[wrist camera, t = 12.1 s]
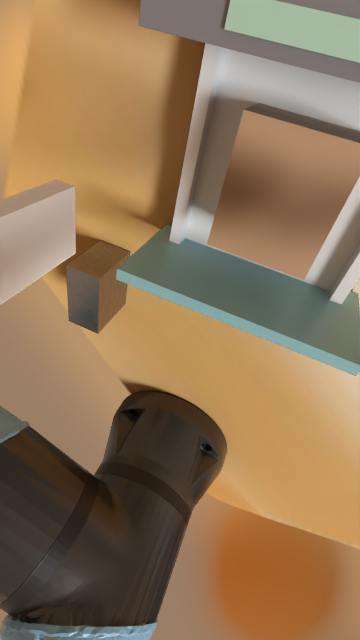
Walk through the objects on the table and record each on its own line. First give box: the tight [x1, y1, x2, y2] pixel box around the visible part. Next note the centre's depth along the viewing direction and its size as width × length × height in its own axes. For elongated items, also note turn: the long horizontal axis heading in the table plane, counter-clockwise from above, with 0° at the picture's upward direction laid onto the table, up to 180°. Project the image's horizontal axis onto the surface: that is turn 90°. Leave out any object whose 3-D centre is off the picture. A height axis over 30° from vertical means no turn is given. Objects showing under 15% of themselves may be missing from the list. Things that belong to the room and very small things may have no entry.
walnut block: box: [207, 103, 360, 280], centre depth 18 cm, size 7×6×4 cm
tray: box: [116, 43, 360, 376], centre depth 17 cm, size 16×15×8 cm
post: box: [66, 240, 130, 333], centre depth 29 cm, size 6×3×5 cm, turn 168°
